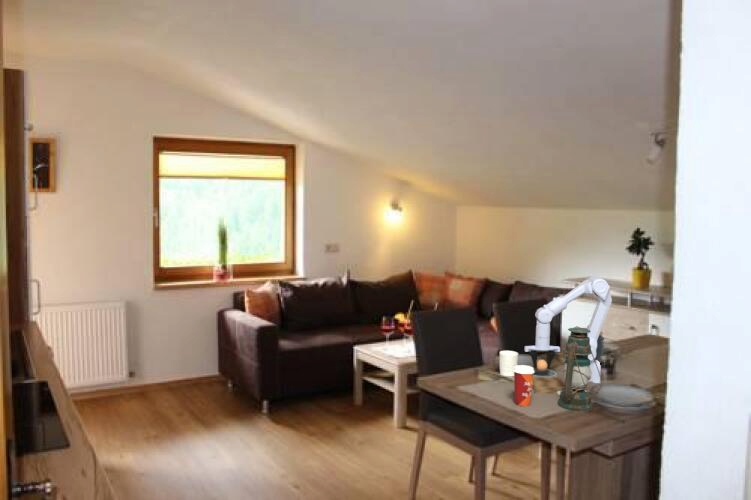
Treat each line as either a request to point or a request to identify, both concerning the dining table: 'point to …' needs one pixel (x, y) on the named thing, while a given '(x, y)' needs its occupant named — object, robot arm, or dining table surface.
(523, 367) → the paper cup
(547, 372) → the bowl
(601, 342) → the canister
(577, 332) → the lantern
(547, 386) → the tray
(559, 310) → the robot arm
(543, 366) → the ball
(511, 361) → the white cup
